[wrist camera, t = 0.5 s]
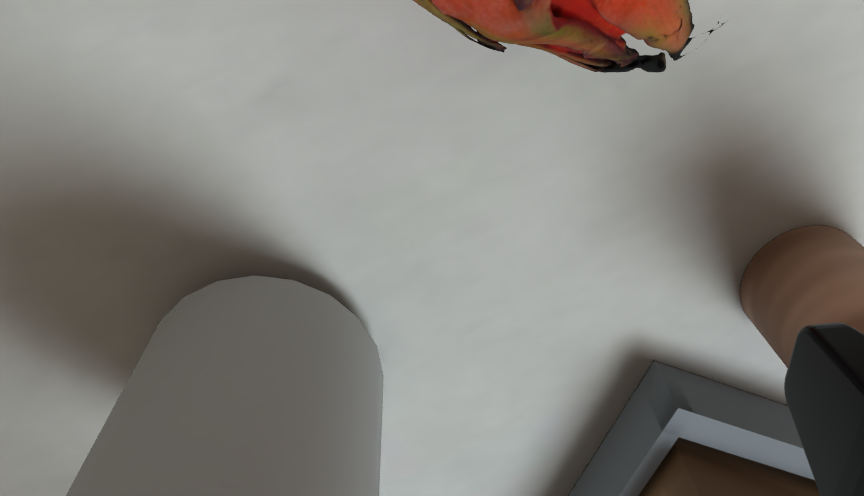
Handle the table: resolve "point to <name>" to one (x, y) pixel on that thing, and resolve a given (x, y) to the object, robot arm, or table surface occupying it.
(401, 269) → the table surface
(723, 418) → the bay
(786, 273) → the handle peg
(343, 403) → the can
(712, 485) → the crate
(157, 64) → the table surface
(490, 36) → the dragon fruit
